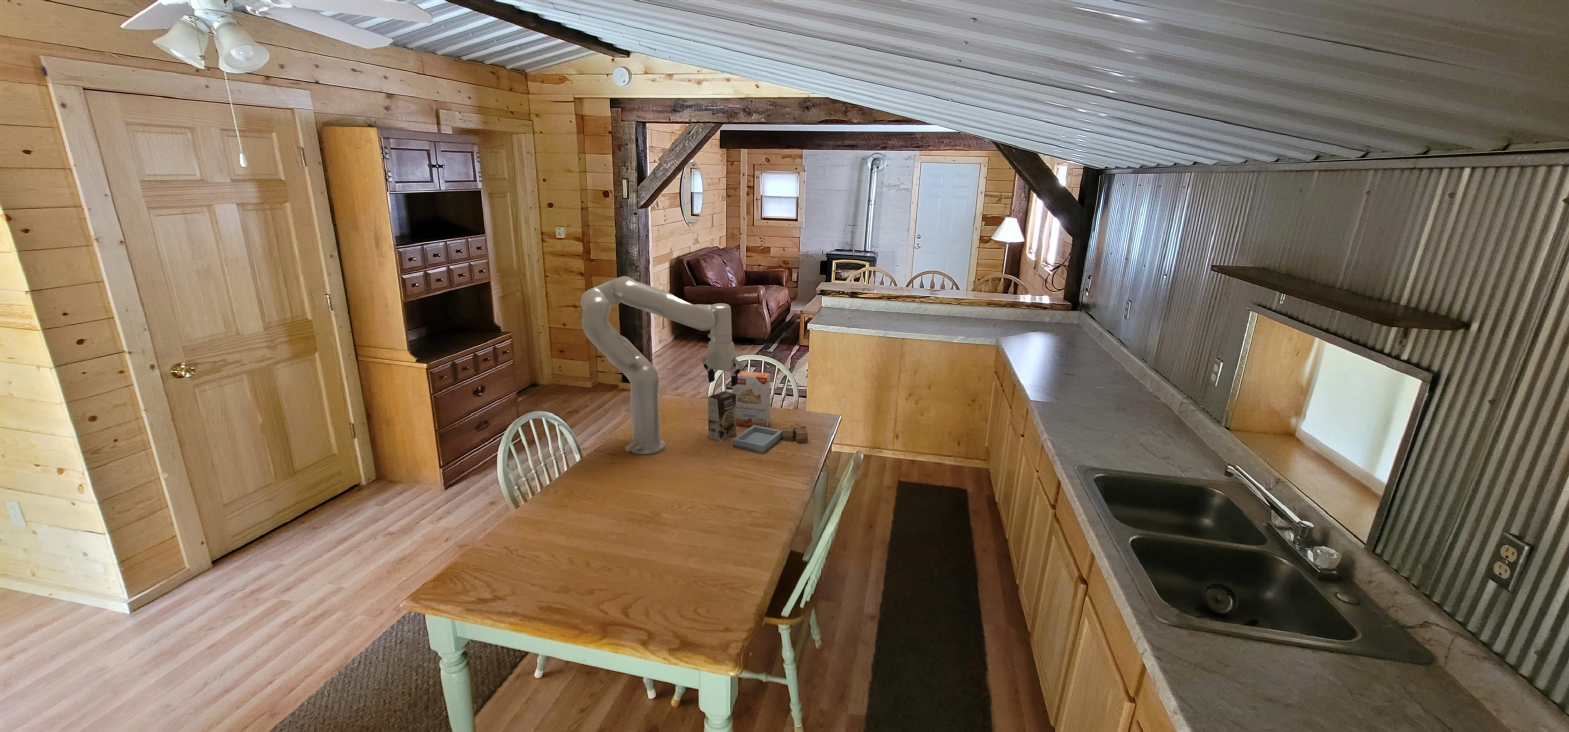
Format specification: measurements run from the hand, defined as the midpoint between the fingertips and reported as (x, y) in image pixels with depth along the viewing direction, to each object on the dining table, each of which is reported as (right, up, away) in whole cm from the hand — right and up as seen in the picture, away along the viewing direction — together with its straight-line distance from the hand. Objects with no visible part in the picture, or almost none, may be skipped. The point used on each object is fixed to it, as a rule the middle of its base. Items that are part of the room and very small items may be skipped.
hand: (723, 383), depth 236 cm
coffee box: (-1, -20, +6) cm, 21 cm away
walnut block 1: (+24, -21, +4) cm, 32 cm away
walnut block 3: (+29, -21, +2) cm, 36 cm away
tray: (+13, -22, 0) cm, 25 cm away
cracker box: (+10, -17, +17) cm, 26 cm away
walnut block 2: (+28, -20, +7) cm, 35 cm away
